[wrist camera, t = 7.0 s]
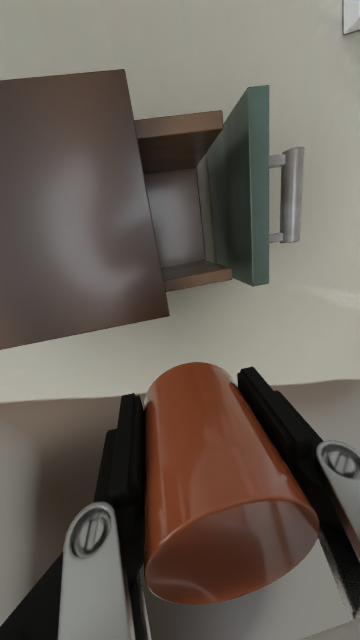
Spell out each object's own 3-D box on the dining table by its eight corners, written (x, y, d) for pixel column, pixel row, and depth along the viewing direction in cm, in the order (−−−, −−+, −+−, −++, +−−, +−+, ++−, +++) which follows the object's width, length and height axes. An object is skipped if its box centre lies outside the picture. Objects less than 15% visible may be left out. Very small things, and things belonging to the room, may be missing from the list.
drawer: (265, 140, 18) (342, 76, 11) (265, 262, 22) (323, 273, 15) (69, 166, 17) (14, 111, 10) (106, 292, 21) (85, 319, 14)
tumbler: (182, 344, 9) (230, 476, 4) (254, 387, 11) (354, 522, 6) (125, 417, 10) (105, 599, 5) (198, 447, 12) (241, 610, 7)
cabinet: (134, 153, 18) (124, 68, 9) (159, 286, 22) (170, 316, 13) (-36, 175, 17) (-238, 101, 8) (25, 311, 21) (-62, 362, 12)
